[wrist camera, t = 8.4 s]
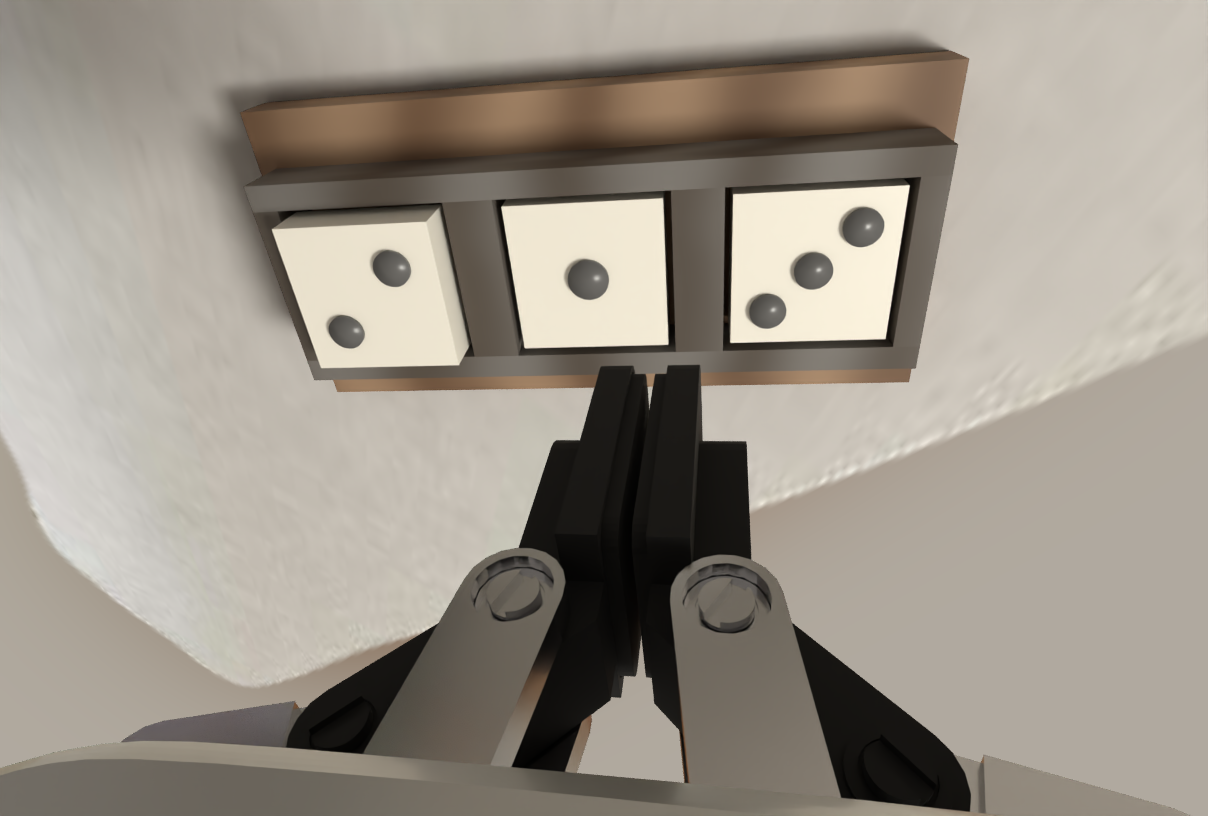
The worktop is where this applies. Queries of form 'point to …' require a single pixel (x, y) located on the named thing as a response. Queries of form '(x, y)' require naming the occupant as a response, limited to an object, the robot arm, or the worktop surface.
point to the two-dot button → (376, 286)
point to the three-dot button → (814, 259)
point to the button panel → (623, 165)
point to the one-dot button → (590, 269)
